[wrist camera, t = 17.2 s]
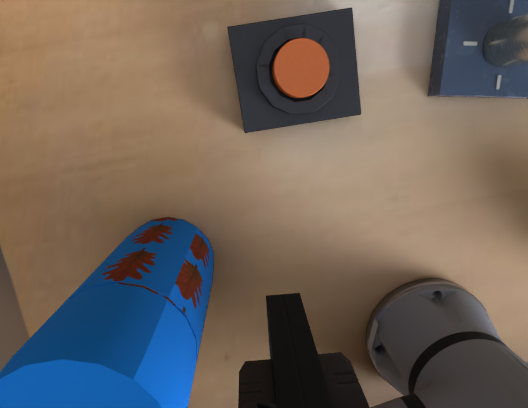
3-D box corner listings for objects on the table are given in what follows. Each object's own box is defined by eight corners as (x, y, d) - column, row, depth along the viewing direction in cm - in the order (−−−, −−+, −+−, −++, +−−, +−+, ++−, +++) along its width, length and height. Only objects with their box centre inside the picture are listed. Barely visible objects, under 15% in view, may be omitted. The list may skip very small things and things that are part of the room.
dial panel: (551, 0, 38) (573, -9, 36) (532, 98, 41) (551, 97, 38) (440, -5, 38) (454, -14, 35) (427, 96, 40) (440, 95, 38)
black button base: (343, 16, 38) (357, 1, 33) (352, 114, 40) (366, 114, 35) (228, 33, 38) (226, 22, 33) (244, 131, 40) (244, 133, 35)
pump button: (321, 38, 34) (326, 33, 32) (327, 93, 35) (332, 92, 33) (268, 46, 34) (270, 42, 32) (276, 101, 35) (278, 101, 33)
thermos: (120, 215, 42) (-54, 357, 18) (214, 215, 42) (172, 353, 18) (127, 301, 44) (-16, 528, 20) (215, 300, 45) (180, 521, 21)
